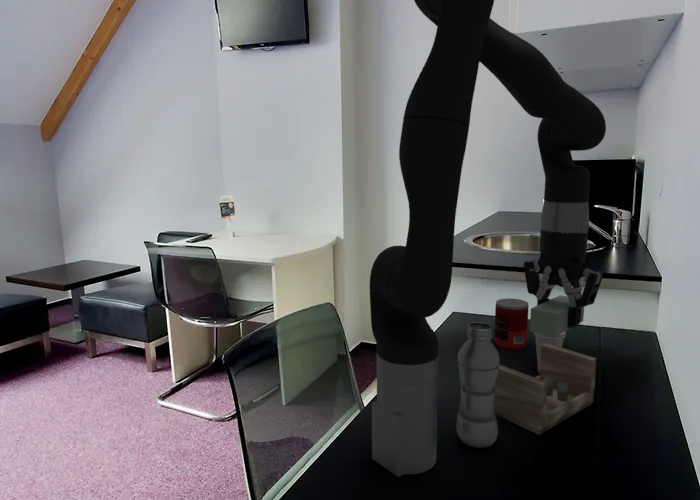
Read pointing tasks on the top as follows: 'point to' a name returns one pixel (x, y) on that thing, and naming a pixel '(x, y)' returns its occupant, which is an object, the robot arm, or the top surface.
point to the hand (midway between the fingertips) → (557, 322)
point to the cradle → (546, 389)
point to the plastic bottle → (478, 387)
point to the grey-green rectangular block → (551, 316)
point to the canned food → (511, 323)
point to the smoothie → (547, 339)
